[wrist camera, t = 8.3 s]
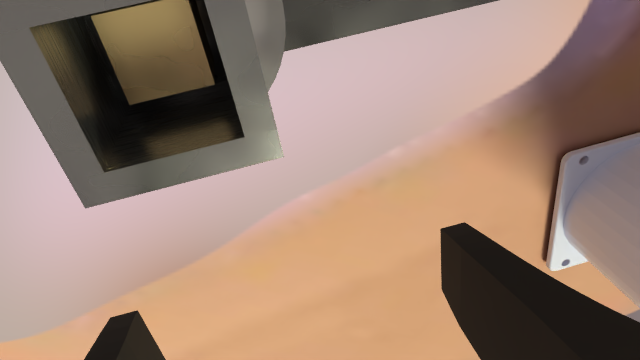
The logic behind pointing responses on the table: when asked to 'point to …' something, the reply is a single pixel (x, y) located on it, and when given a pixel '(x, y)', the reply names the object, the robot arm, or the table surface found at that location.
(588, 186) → the robot arm
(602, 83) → the table surface
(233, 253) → the table surface
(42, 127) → the hollow square tube
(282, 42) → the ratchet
